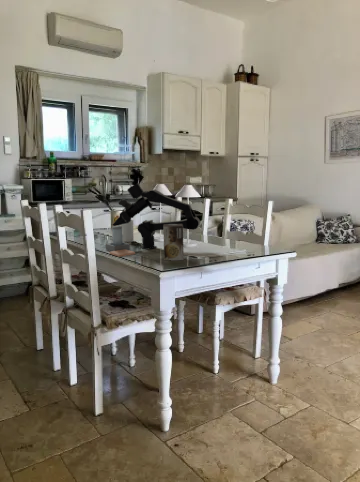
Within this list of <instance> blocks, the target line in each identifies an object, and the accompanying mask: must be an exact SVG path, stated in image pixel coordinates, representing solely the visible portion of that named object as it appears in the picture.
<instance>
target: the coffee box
mask: <svg viewBox="0 0 360 482" xmlns="http://www.w3.org/2000/svg"><path fill="white" fill-rule="evenodd" d="M162 231H163V260H171V261H184V259H185V258H184V228H183V224H164V225H163V230H162Z"/></svg>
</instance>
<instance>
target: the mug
mask: <svg viewBox="0 0 360 482" xmlns="http://www.w3.org/2000/svg"><path fill="white" fill-rule="evenodd" d="M117 226H122V240H123V242H124V243H132V242H133V241H134V236H135V235H134V219H131V221H130V222H129V223H126V224H121V225H117Z"/></svg>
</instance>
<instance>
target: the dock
mask: <svg viewBox="0 0 360 482" xmlns="http://www.w3.org/2000/svg"><path fill="white" fill-rule="evenodd" d="M105 250H106V251H109V255H111V256H112V255H113V256H116V257H118V258H120V257H125V256H126V255H127V256H132V255H136V251H134V250H133V251H132V250H131V243H129V242H123V245H118V246H114V245H113V242H109V243H105Z"/></svg>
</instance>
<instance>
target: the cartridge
mask: <svg viewBox="0 0 360 482" xmlns="http://www.w3.org/2000/svg"><path fill="white" fill-rule="evenodd" d="M111 232H112V243H113V245H114V246H118V245H123V240H122V226H118V225H116V226H113V225H112V226H111Z"/></svg>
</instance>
